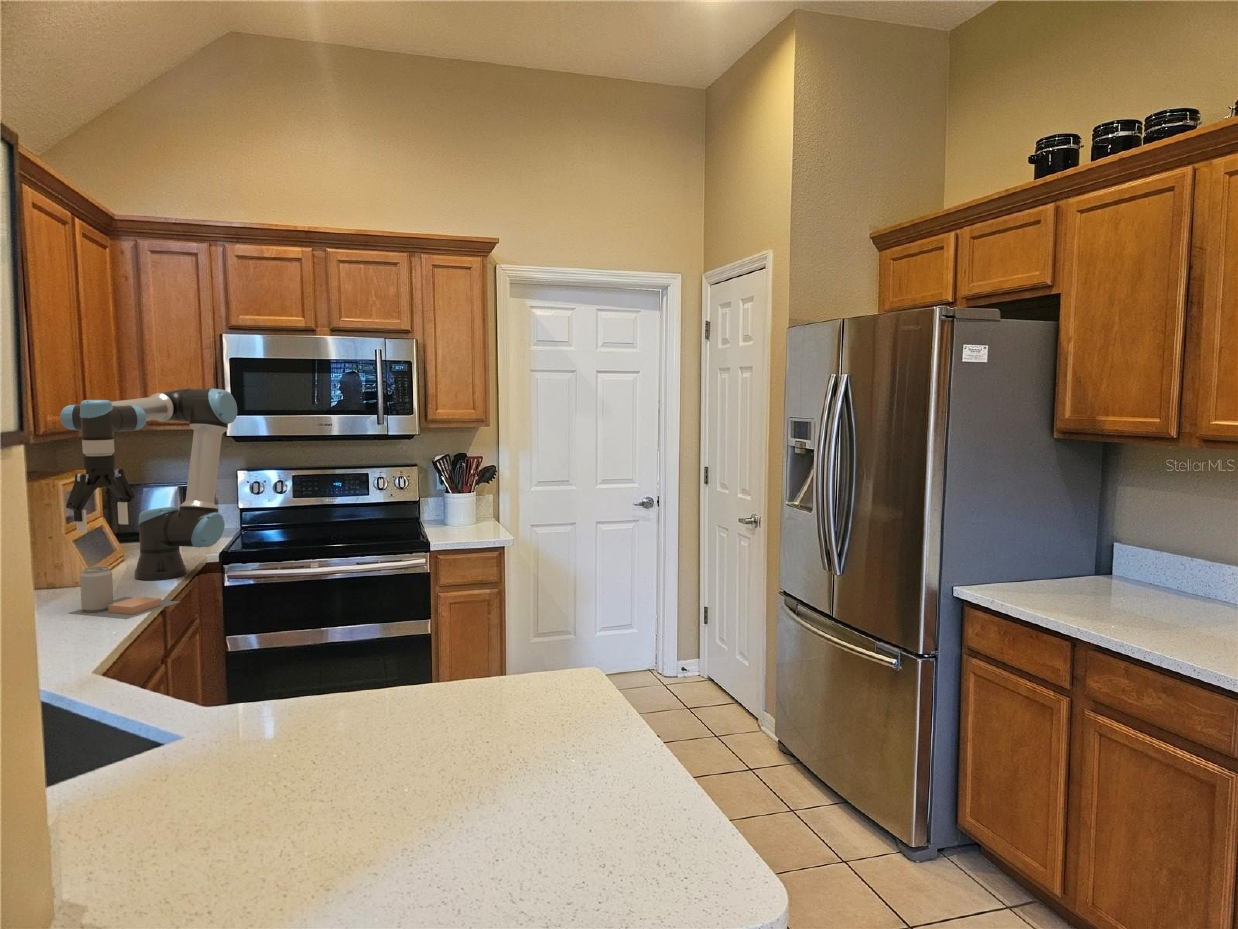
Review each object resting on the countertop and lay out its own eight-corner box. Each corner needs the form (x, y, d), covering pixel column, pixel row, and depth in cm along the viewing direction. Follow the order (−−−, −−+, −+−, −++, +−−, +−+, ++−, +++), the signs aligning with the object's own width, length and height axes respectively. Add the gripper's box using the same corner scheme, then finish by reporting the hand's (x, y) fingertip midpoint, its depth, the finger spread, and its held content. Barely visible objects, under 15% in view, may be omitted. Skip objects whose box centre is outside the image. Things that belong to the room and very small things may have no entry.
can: (119, 606, 223) (118, 565, 222) (100, 613, 215) (98, 571, 214) (95, 605, 223) (93, 564, 222) (74, 612, 216) (73, 570, 215)
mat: (125, 598, 233) (125, 596, 233) (181, 603, 229) (180, 601, 229) (67, 615, 215) (66, 613, 215) (126, 621, 210) (126, 619, 210)
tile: (138, 596, 226) (108, 605, 216) (160, 598, 224) (131, 607, 214) (138, 603, 226) (108, 612, 216) (161, 605, 224) (132, 614, 215)
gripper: (124, 450, 232) (128, 520, 235) (46, 458, 208) (52, 535, 210) (145, 451, 231) (149, 521, 233) (69, 459, 206) (74, 537, 209)
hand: (103, 528), depth 222 cm, fingers open, 13 cm apart
